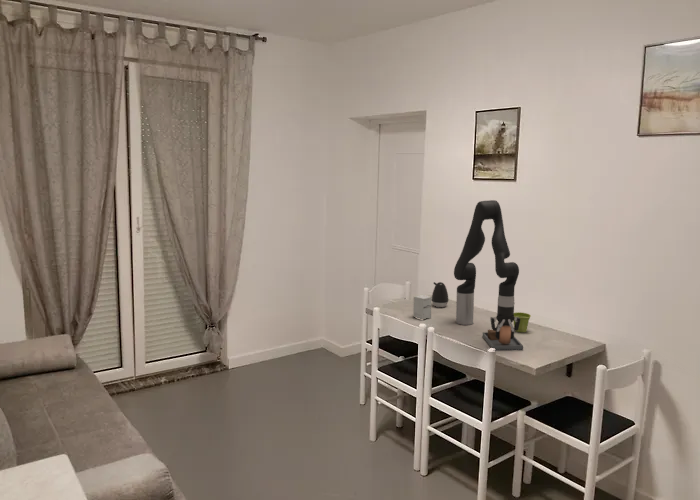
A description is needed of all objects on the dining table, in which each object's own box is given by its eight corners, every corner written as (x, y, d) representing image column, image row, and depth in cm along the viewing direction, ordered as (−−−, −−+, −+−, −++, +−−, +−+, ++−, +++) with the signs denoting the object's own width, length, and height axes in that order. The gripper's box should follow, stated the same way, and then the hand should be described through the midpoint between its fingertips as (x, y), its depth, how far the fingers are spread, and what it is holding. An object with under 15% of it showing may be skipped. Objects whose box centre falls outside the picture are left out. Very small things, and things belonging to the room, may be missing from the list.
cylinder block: (496, 339, 254) (497, 323, 253) (508, 339, 254) (509, 323, 253) (500, 343, 248) (500, 327, 247) (512, 343, 248) (512, 327, 247)
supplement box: (422, 320, 293) (422, 298, 291) (412, 318, 299) (413, 296, 297) (431, 318, 298) (431, 296, 296) (421, 315, 303) (422, 294, 301)
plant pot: (531, 329, 276) (532, 313, 274) (527, 334, 268) (528, 318, 266) (513, 327, 280) (514, 311, 279) (509, 332, 272) (509, 315, 271)
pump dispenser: (438, 303, 330) (439, 279, 328) (451, 306, 322) (452, 282, 320) (427, 306, 323) (428, 282, 321) (440, 309, 316) (441, 284, 313)
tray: (482, 336, 265) (482, 332, 265) (510, 336, 265) (510, 332, 265) (492, 350, 246) (493, 345, 245) (522, 350, 246) (523, 345, 245)
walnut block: (487, 337, 262) (487, 329, 261) (495, 337, 263) (495, 329, 262) (490, 340, 258) (491, 332, 257) (498, 339, 259) (498, 331, 258)
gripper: (518, 302, 252) (517, 336, 255) (488, 302, 252) (487, 336, 255) (523, 306, 245) (522, 341, 247) (492, 306, 245) (491, 341, 247)
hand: (504, 338), depth 251 cm, fingers closed on cylinder block, 5 cm apart
